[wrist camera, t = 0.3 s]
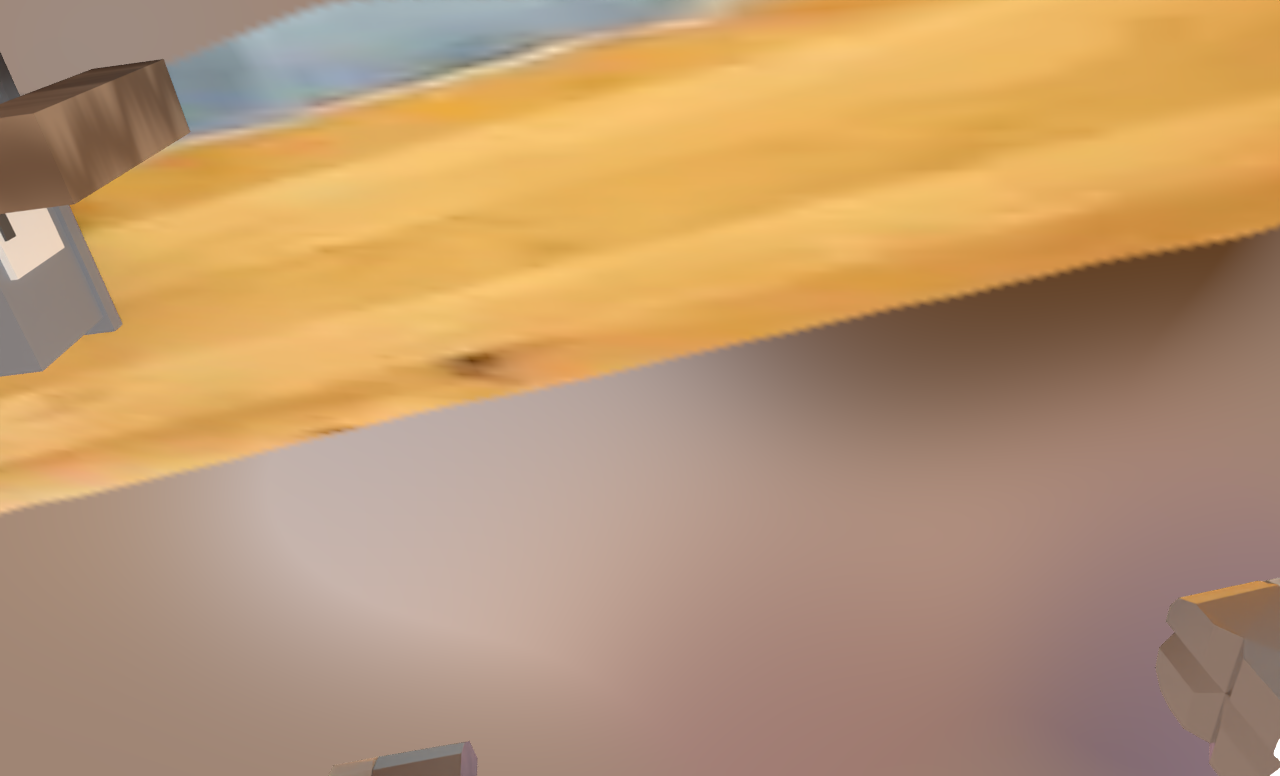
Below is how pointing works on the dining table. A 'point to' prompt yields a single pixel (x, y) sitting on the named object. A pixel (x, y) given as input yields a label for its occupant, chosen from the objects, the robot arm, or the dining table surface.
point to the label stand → (46, 282)
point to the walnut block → (84, 133)
